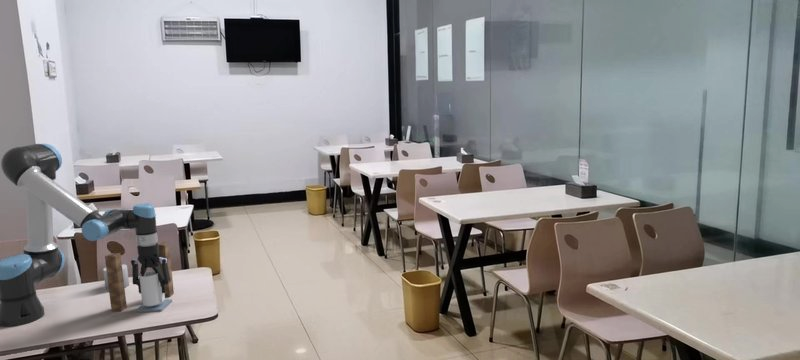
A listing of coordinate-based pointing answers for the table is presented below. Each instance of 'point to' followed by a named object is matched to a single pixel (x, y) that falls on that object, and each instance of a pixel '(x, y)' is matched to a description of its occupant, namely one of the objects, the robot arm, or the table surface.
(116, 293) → the corner post
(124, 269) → the toilet tissue
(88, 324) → the table surface
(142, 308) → the mat
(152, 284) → the mug
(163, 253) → the far post
